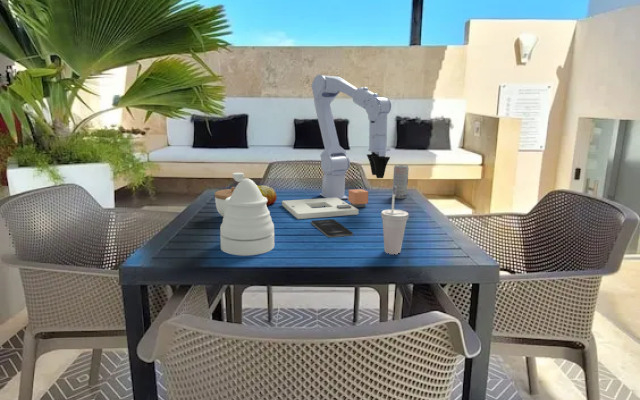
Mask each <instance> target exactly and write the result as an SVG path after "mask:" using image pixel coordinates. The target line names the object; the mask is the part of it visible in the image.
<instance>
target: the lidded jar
mask: <svg viewBox="0 0 640 400" xmlns="http://www.w3.org/2000/svg"><path fill="white" fill-rule="evenodd" d="M235 188H236V186H230V188H228V189H227V188H225V189H221V190H217V191H215V192H214V198H215V207H216V210H217V212H218V214H220V216H221V217H223V218H224V213H225V211H226V209H227V206H228V205H227V204H226V203H225V199H226V198H228V197H230V196H231V195H232V193H233V191H234V189H235ZM223 218H222V219H223Z"/></svg>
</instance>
